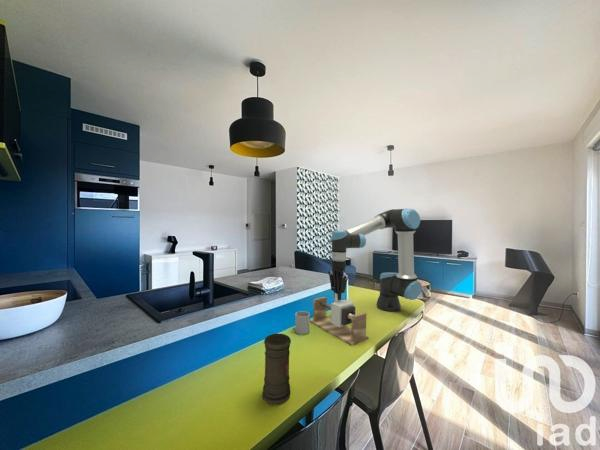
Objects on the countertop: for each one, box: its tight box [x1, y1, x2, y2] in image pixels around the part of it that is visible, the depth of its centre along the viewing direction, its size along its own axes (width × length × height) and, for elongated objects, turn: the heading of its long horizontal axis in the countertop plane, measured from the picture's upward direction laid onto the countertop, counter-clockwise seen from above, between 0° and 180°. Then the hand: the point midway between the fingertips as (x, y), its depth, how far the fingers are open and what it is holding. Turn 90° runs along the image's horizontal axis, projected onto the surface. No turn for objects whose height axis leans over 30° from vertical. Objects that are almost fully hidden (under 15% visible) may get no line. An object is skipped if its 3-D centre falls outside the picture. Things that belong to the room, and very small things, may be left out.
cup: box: [294, 310, 311, 335], centre depth 124 cm, size 7×10×9 cm
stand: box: [310, 296, 369, 346], centre depth 125 cm, size 30×12×12 cm, turn 36°
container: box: [262, 333, 292, 406], centre depth 77 cm, size 9×9×18 cm
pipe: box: [320, 301, 353, 320], centre depth 125 cm, size 28×3×3 cm, turn 36°
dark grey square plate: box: [341, 305, 356, 326], centre depth 119 cm, size 2×8×8 cm, turn 126°
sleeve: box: [330, 299, 355, 327], centre depth 122 cm, size 6×10×10 cm, turn 126°
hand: (337, 305), depth 125 cm, fingers closed
